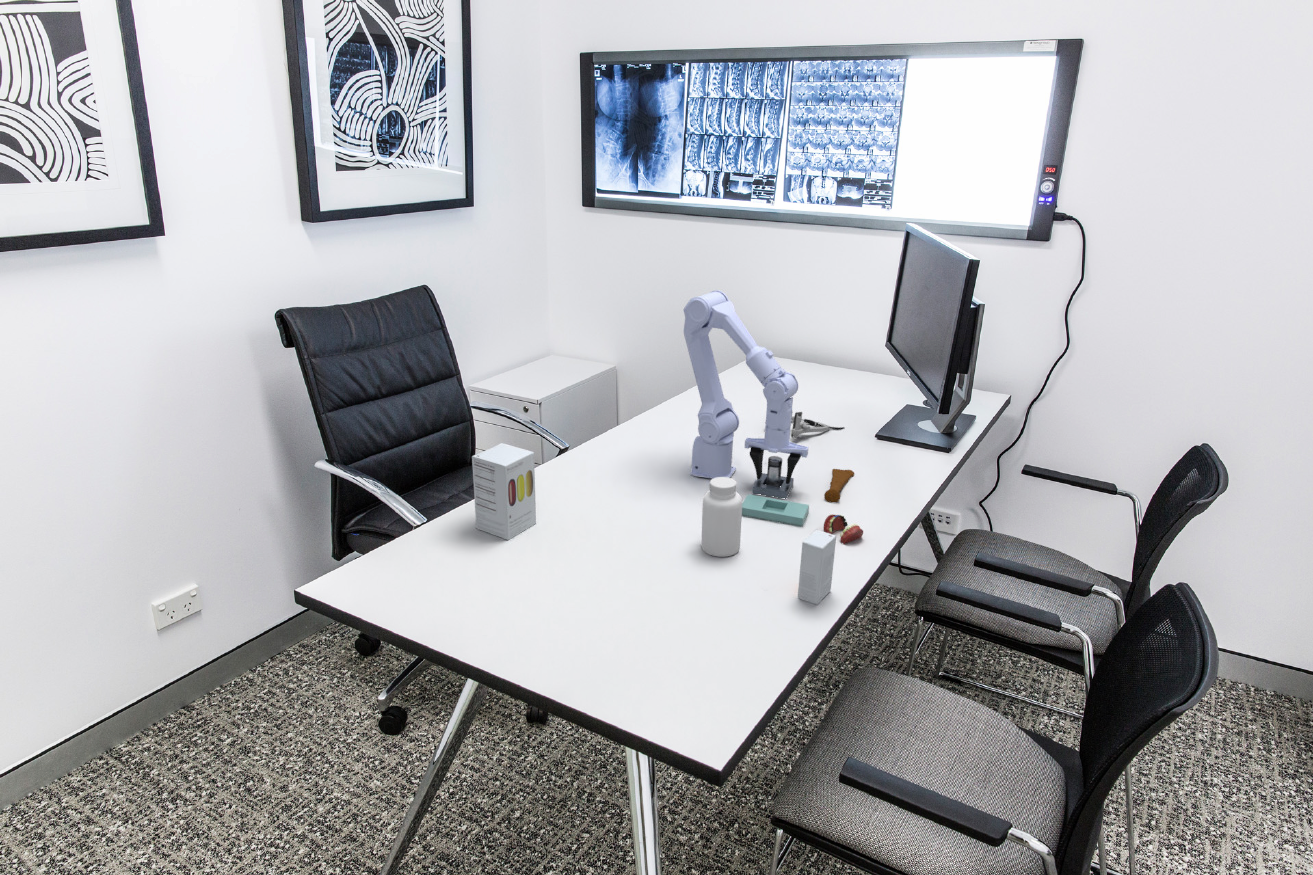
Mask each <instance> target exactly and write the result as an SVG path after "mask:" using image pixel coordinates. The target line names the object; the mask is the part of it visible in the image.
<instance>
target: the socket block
mask: <svg viewBox="0 0 1313 875" xmlns="http://www.w3.org/2000/svg"><path fill="white" fill-rule="evenodd" d="M786 477H787V476H784V475H783V476H782V475H781V481H780V486H781V487H775V486H769V485H765V484H766V483H767V473H763V472H762V476H761V478H760V479H757V478H756V480H755V481H754V483H753V485H752V492H751V494H752V493H753V494H752V495H755V494H761V495H766V496H765V497H767V496H774V497H778V498H785V499H786V498H787V499H788V497H787V496H789V495H790V493H791V491H790V490H792V489H793V487H794V479H795V478H794V477H791V481H790V483H789V484H786ZM792 486H793V487H792ZM791 488H792V489H791ZM789 492H790V493H789ZM788 494H789V495H788ZM761 495H760V496H761ZM778 498H777V499H778ZM787 499H786V500H787Z"/></svg>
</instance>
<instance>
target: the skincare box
mask: <svg viewBox="0 0 1313 875" xmlns="http://www.w3.org/2000/svg"><path fill="white" fill-rule="evenodd" d="M836 540H837V535H836V534H833V533H832V534H829V533H826V532H824V530H820V529H815V530H814V531H813V532H812V533H811V534H809V536H807V538H805V539H804V540H803V541H802V545H801V553H800V554H801V555H800V567H799V568H800V569H799V578H798V589H797V591H798V592H797V598H798V599H799V600H803V601H806V602H808V603H811V604H814V605H819V604H820V602H822V600H823V599H825V597H826V596H827V595H828V594H829V593H830V592H831V590H832V580H833V574H834V572H833V571H834V561H835V553H836V552H835V551H836V543H837V542H836Z"/></svg>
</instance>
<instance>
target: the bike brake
mask: <svg viewBox="0 0 1313 875" xmlns="http://www.w3.org/2000/svg"><path fill="white" fill-rule="evenodd" d="M802 421H803V422H802ZM791 422H793V423H792V428H791V429H792V430H791V433H790V435H791V437H793V439H798V437H800V435H802V434H806V433H807V434H808V433H823V432H827V431H830V430H845V428H846V427H844V426H843V427H841V426H840V427H836V426H835V427H834V426H830V425H829V424H828V425H827V424H825V423H822V422H819V421H814V420H811V419H807V418H803V411H796V412H795V414H794V416H793V415H792V417H791ZM764 423H765V425H766V421H765V422H764ZM809 425H812V426H809ZM813 426H815V427H813ZM791 437H790V438H791Z"/></svg>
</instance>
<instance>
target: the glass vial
mask: <svg viewBox="0 0 1313 875" xmlns="http://www.w3.org/2000/svg"><path fill="white" fill-rule="evenodd" d="M782 467H783V458H782V457H781V456H777V455H771V456H769V457H768V459H767V471H766V472H767V473H766V474H767V483H766V485H769V486H775V487H780V481H781V476H782Z"/></svg>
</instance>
